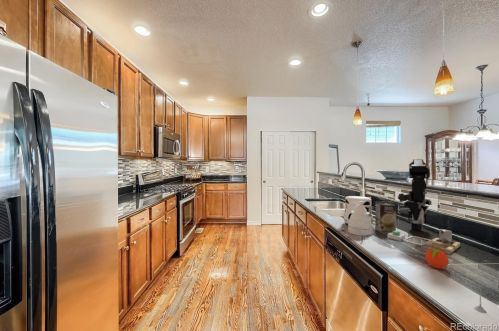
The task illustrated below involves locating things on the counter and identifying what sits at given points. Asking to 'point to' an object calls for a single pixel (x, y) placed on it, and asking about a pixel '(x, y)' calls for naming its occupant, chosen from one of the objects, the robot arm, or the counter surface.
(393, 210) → the coffee box
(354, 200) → the milk container
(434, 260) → the tomato
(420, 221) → the cylinder
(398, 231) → the button
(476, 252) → the counter surface
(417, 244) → the grey flat rimmed tray
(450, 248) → the shallow beige tray
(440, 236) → the billet
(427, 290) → the counter surface
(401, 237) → the white square frame
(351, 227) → the honey pot
